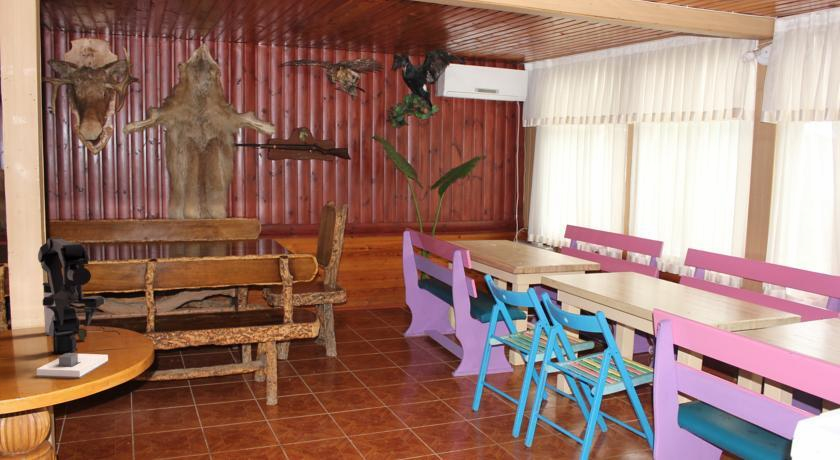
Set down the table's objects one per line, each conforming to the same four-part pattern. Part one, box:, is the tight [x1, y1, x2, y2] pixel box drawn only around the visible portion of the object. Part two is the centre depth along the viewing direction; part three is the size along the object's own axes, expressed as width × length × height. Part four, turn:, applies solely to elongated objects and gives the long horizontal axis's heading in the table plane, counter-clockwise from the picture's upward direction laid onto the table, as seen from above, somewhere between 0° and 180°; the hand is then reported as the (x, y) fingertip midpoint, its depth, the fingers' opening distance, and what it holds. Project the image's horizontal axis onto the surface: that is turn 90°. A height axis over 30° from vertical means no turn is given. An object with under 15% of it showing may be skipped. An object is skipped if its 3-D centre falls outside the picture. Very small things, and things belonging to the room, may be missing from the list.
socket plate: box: [36, 352, 109, 379], centre depth 233 cm, size 14×18×2 cm
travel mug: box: [42, 282, 54, 336], centre depth 276 cm, size 6×7×20 cm
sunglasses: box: [75, 324, 121, 342], centre depth 276 cm, size 14×15×5 cm
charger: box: [58, 353, 79, 367], centre depth 230 cm, size 4×4×5 cm
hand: (74, 325), depth 242 cm, fingers open, 9 cm apart
